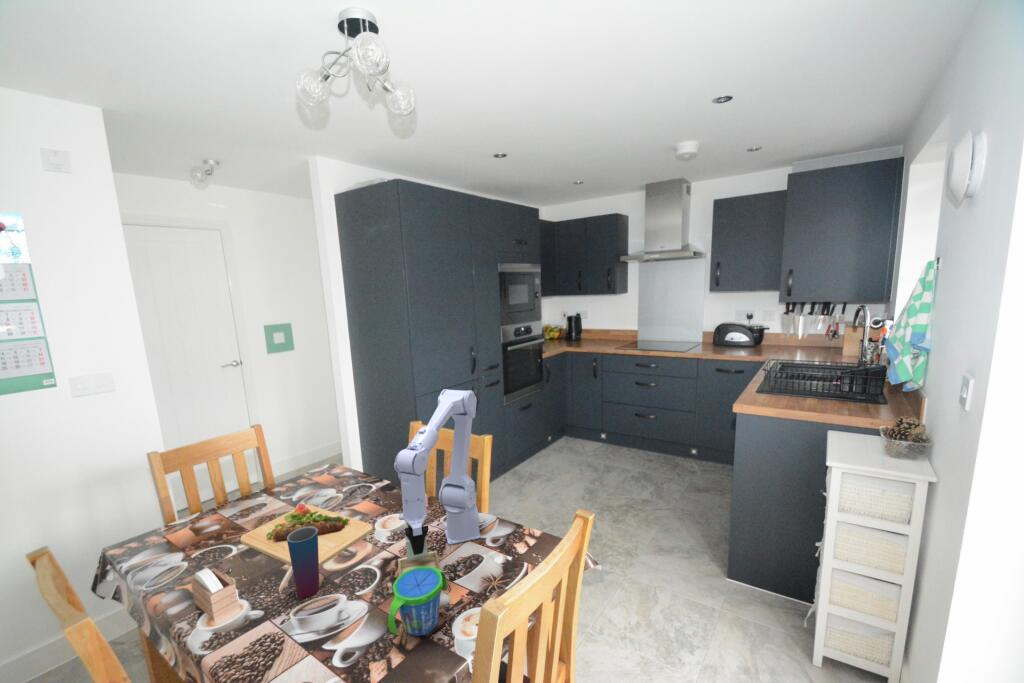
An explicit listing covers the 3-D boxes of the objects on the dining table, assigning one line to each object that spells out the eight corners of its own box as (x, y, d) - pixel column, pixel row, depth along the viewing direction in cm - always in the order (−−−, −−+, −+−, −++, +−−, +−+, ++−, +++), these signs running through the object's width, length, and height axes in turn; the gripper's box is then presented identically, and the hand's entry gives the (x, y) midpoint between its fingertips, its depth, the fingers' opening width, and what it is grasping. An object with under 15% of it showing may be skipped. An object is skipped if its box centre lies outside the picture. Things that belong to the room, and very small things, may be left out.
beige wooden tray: (437, 560, 113) (436, 550, 112) (442, 585, 103) (441, 574, 103) (398, 569, 110) (397, 559, 110) (400, 595, 100) (399, 584, 100)
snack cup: (405, 662, 82) (401, 614, 81) (376, 635, 88) (372, 591, 87) (463, 613, 93) (461, 571, 92) (433, 593, 100) (431, 554, 99)
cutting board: (236, 543, 127) (234, 520, 126) (306, 508, 147) (304, 487, 147) (309, 576, 110) (306, 549, 109) (376, 530, 130) (374, 508, 130)
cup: (311, 601, 99) (305, 543, 98) (286, 598, 101) (280, 541, 99) (329, 582, 106) (323, 527, 104) (305, 580, 107) (300, 525, 106)
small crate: (426, 545, 109) (425, 527, 108) (427, 557, 104) (426, 538, 103) (406, 549, 107) (405, 531, 107) (407, 561, 103) (405, 542, 102)
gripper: (396, 486, 110) (400, 535, 111) (398, 513, 96) (402, 567, 98) (423, 482, 112) (426, 529, 113) (429, 507, 98) (432, 561, 100)
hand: (417, 547), depth 106 cm, fingers closed on small crate, 5 cm apart
